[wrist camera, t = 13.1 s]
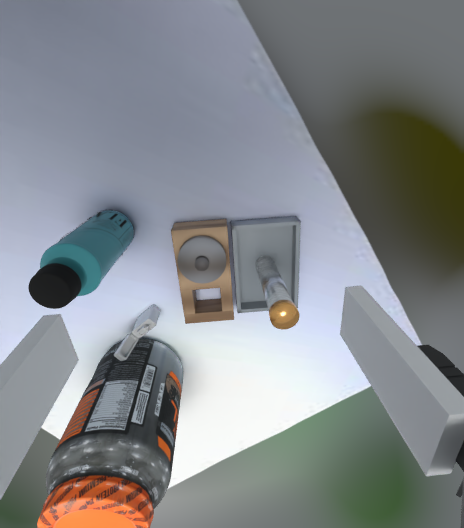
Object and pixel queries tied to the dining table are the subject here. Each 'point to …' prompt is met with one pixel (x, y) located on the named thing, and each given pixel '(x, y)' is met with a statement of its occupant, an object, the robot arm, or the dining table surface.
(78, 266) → the beverage bottle
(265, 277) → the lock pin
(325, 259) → the dining table surface
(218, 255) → the pulley block
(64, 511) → the supplement tub
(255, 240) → the tray
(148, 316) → the lighter
